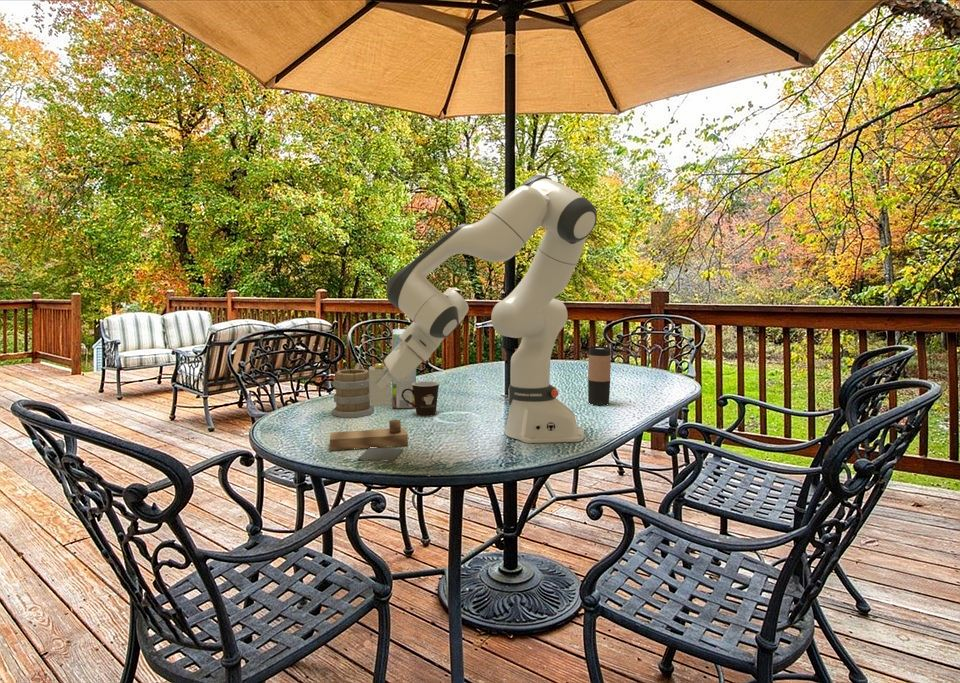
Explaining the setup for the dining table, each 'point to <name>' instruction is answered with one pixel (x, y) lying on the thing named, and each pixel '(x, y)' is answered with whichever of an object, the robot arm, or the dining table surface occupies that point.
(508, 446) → the dining table surface
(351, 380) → the tankard
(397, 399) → the snack box
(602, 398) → the travel mug
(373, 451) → the mat
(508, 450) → the dining table surface
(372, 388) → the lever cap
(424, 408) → the coffee mug
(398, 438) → the body
